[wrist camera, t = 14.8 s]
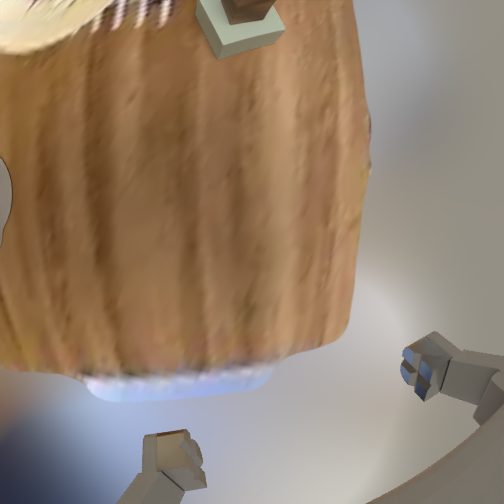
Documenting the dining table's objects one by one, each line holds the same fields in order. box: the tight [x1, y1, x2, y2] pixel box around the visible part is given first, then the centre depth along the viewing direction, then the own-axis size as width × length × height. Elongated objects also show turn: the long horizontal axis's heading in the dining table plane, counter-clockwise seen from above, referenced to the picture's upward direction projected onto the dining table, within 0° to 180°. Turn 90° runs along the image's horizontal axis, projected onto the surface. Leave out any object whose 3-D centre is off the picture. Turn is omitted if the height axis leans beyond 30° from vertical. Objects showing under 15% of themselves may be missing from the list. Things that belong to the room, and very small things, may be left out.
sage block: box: [195, 0, 286, 60], centre depth 30 cm, size 9×9×6 cm
